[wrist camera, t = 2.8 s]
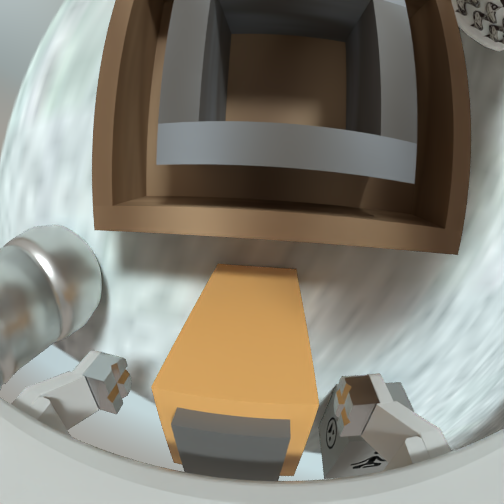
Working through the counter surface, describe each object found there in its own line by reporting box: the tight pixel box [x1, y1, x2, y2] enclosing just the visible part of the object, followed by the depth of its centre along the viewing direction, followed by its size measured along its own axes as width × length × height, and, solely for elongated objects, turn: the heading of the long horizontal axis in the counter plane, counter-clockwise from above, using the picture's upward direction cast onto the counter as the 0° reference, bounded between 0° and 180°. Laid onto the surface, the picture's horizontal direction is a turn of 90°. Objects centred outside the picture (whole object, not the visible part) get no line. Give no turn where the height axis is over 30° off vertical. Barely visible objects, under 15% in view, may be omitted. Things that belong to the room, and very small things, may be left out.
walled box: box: [92, 0, 471, 255], centre depth 9 cm, size 15×13×5 cm
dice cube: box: [319, 382, 415, 479], centre depth 15 cm, size 5×5×5 cm
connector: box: [151, 264, 319, 481], centre depth 10 cm, size 4×4×10 cm
